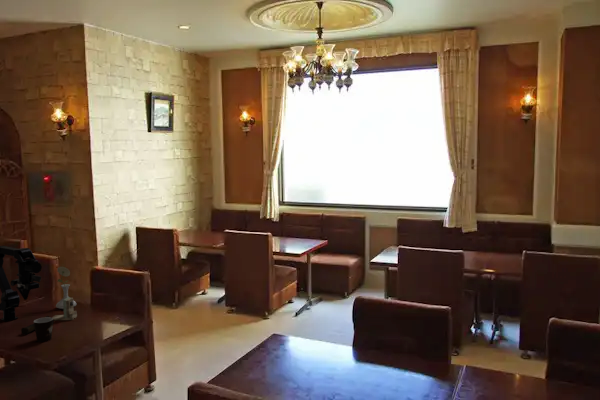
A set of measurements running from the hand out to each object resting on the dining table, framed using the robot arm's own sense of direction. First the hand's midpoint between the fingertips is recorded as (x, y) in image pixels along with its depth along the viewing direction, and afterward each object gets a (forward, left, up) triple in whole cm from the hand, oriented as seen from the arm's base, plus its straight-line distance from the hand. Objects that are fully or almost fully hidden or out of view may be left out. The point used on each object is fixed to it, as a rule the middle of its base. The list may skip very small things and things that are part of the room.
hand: (25, 299), depth 273 cm
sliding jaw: (+12, +16, -12) cm, 23 cm away
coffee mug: (+33, -8, -13) cm, 36 cm away
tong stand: (+11, +15, -13) cm, 23 cm away
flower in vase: (-8, +28, -13) cm, 32 cm away
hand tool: (+14, -2, -14) cm, 19 cm away
